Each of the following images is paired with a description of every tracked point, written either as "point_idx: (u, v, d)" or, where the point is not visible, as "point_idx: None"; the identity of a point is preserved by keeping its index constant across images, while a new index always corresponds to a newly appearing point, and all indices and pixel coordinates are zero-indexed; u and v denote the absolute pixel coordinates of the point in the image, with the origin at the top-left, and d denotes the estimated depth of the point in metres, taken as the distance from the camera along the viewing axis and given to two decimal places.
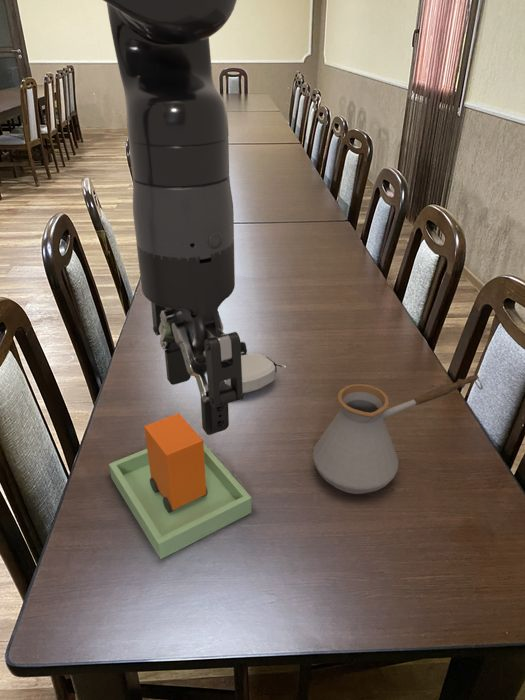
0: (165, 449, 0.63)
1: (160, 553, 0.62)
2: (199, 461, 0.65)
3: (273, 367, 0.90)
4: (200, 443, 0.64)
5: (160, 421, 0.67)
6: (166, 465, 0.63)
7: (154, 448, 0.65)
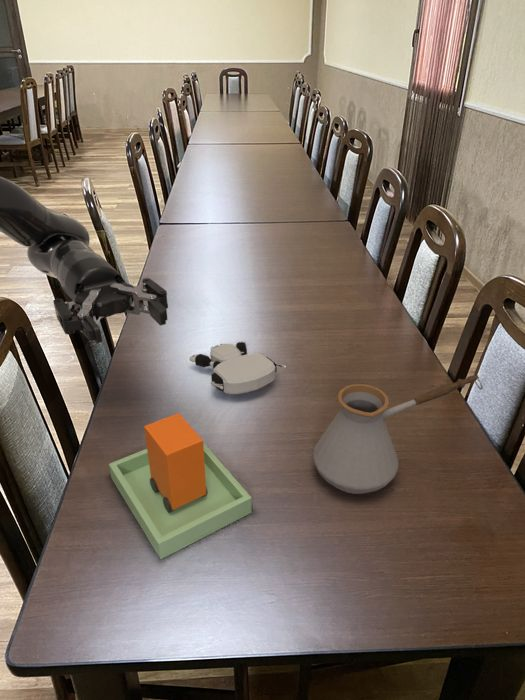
0: (165, 449, 0.63)
1: (160, 553, 0.62)
2: (199, 461, 0.65)
3: (273, 367, 0.90)
4: (200, 443, 0.64)
5: (160, 421, 0.67)
6: (166, 465, 0.63)
7: (154, 448, 0.65)
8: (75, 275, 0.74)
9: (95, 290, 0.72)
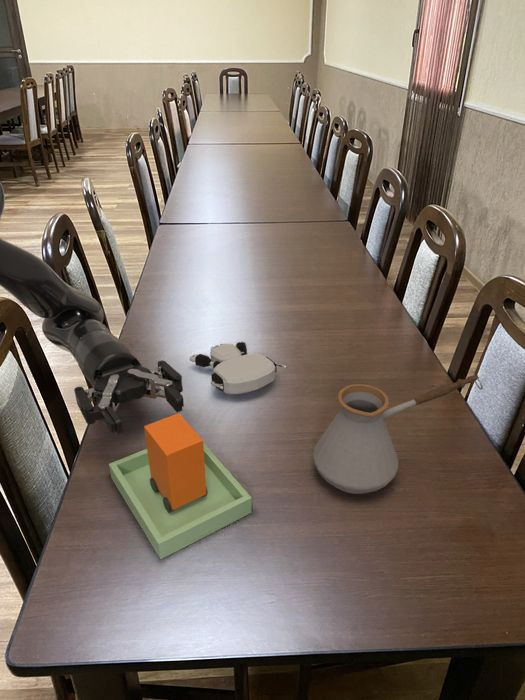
0: (165, 449, 0.63)
1: (160, 553, 0.62)
2: (199, 461, 0.65)
3: (273, 367, 0.90)
4: (200, 443, 0.64)
5: (160, 421, 0.67)
6: (166, 465, 0.63)
7: (154, 448, 0.65)
8: (94, 361, 0.78)
9: (114, 377, 0.75)
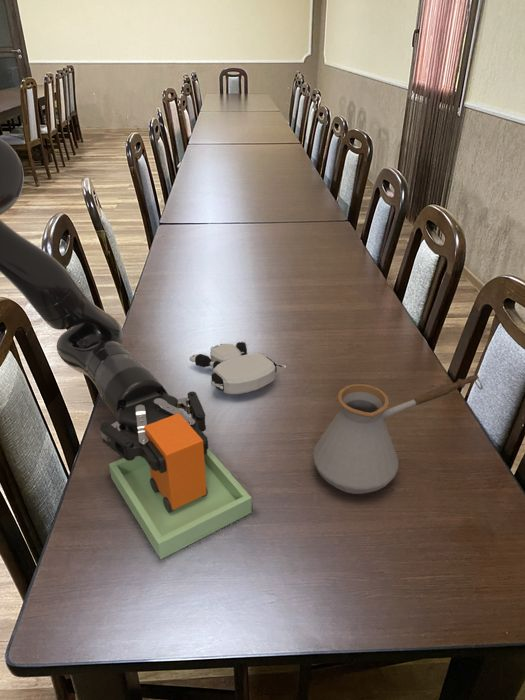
0: (165, 449, 0.63)
1: (160, 553, 0.62)
2: (199, 461, 0.65)
3: (273, 367, 0.90)
4: (200, 443, 0.64)
5: (160, 421, 0.67)
6: (166, 465, 0.63)
7: None
8: (116, 390, 0.71)
9: (139, 409, 0.69)
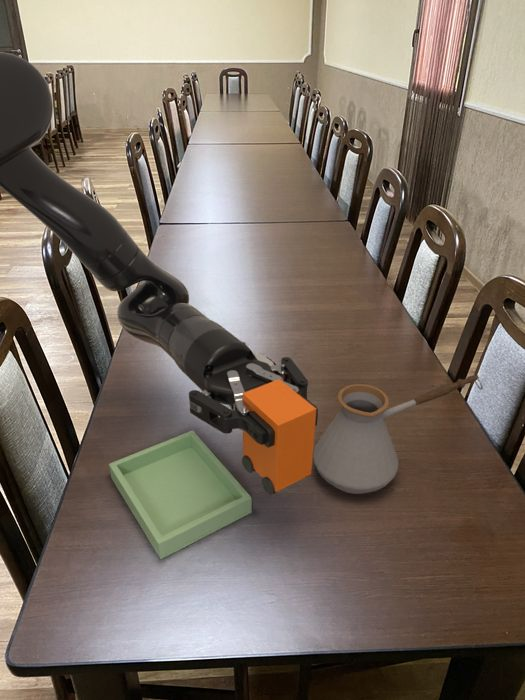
0: (275, 418, 0.53)
1: (160, 553, 0.62)
2: (309, 434, 0.55)
3: None
4: (313, 412, 0.54)
5: (260, 388, 0.57)
6: (275, 437, 0.53)
7: None
8: (202, 354, 0.61)
9: (232, 374, 0.59)
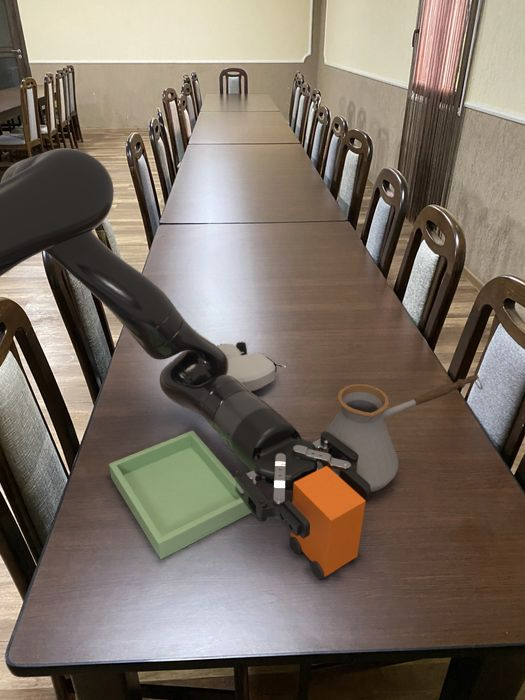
0: (327, 512, 0.55)
1: (160, 553, 0.62)
2: (358, 523, 0.58)
3: (273, 367, 0.90)
4: (362, 504, 0.57)
5: (309, 476, 0.60)
6: (327, 530, 0.56)
7: (309, 509, 0.58)
8: (250, 436, 0.64)
9: (280, 458, 0.62)
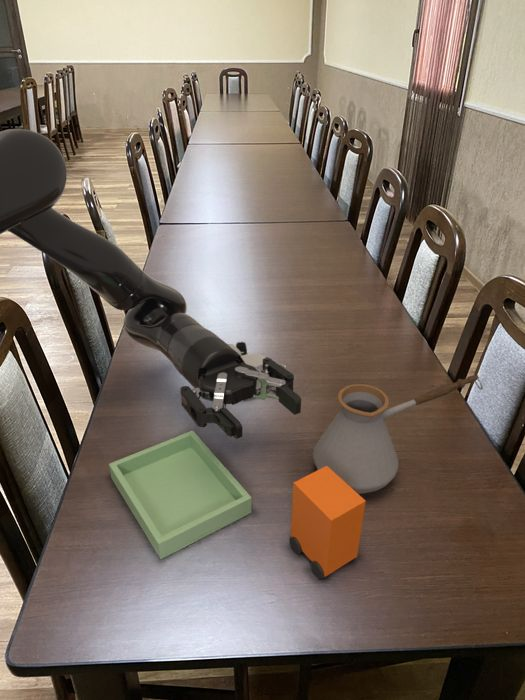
0: (327, 512, 0.55)
1: (160, 553, 0.62)
2: (358, 523, 0.58)
3: None
4: (362, 504, 0.57)
5: (309, 476, 0.60)
6: (327, 530, 0.56)
7: (309, 509, 0.58)
8: (196, 358, 0.71)
9: (222, 376, 0.69)
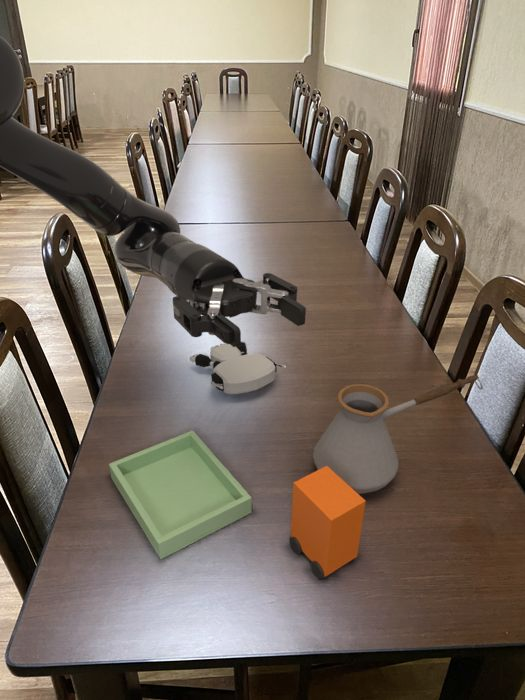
0: (327, 512, 0.55)
1: (160, 553, 0.62)
2: (358, 523, 0.58)
3: (273, 367, 0.90)
4: (362, 504, 0.57)
5: (309, 476, 0.60)
6: (327, 530, 0.56)
7: (309, 509, 0.58)
8: (191, 270, 0.65)
9: (218, 286, 0.62)
